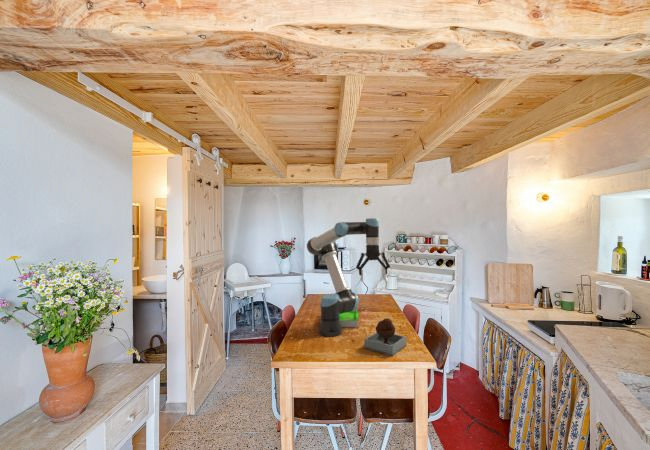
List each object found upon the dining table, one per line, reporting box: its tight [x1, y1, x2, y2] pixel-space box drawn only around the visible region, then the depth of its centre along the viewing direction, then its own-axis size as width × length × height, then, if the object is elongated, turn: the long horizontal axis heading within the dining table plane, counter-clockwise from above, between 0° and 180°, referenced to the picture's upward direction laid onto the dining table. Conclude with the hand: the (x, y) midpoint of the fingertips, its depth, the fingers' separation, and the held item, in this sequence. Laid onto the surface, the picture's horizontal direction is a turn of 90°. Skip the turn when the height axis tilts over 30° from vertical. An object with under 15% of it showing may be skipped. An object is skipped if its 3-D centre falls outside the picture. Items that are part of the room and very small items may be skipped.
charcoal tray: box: [363, 332, 407, 357], centre depth 172 cm, size 17×17×5 cm
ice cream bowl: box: [375, 317, 397, 345], centre depth 172 cm, size 11×11×15 cm
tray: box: [339, 309, 359, 328], centre depth 219 cm, size 25×25×5 cm
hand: (373, 280), depth 184 cm, fingers open, 13 cm apart
